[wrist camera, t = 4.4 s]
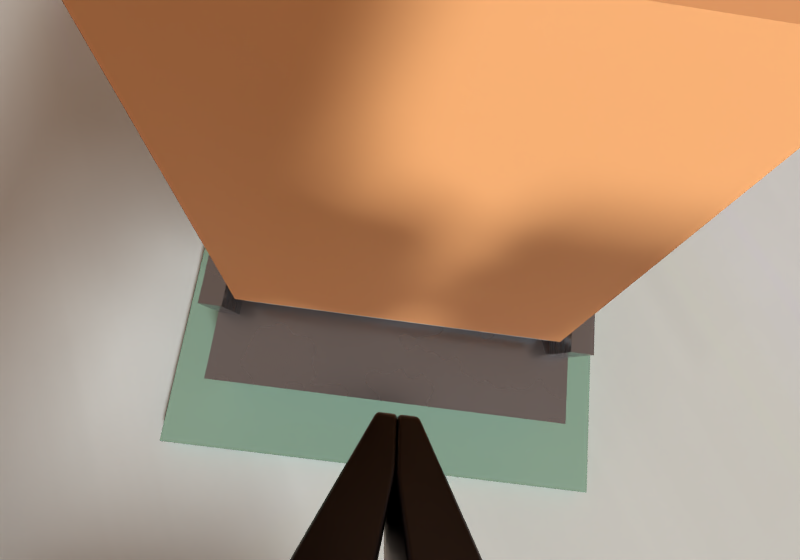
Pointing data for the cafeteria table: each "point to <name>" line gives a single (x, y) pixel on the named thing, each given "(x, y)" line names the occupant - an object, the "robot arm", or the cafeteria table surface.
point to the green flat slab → (349, 418)
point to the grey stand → (388, 358)
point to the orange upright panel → (452, 142)
